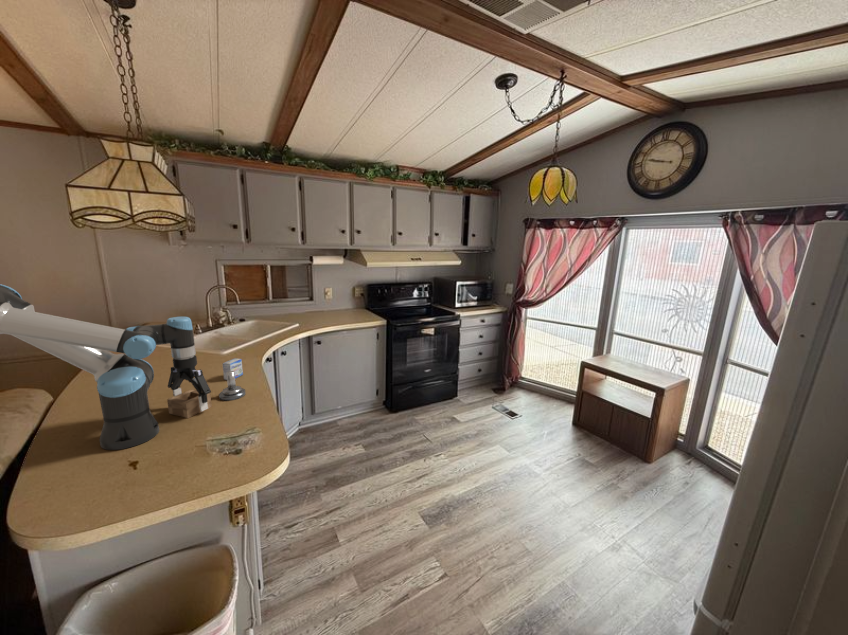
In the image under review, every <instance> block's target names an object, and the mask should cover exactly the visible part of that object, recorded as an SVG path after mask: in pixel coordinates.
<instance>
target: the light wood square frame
mask: <svg viewBox="0 0 848 635" xmlns="http://www.w3.org/2000/svg"><path fill="white" fill-rule="evenodd" d="M198 396H199V393H198V392H197V390H196V389H193V388H192V389H189V390H187V391H184V392H182V394H179V395H177V396H172V397H169V398H167V399H166V401H167V407H168V409H167V410H168V414H170V415H174V416H179V417H182V418H185V419H189V418H191V417H193V416H196V415H198V414H200V413H202V412H201V411H200V406H199V398H198ZM207 400H208V401H207V404H208V409H210V408H212V407H213V406H212V398H211V393H209V394H207Z"/></svg>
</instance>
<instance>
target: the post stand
mask: <svg viewBox="0 0 848 635" xmlns="http://www.w3.org/2000/svg"><path fill="white" fill-rule="evenodd" d="M226 373H227V380H226V382H227V387H224V388H223V389H222V390H221V391H220V392H219V394H218V397H219V398H218V399H220V400H221V401H227V402H229V401H235V400H240V399H241V398H243V397H245V395H246V389H245V388H243V387H241V386H240V385H236V379H235V373H234V371H228V372H226Z"/></svg>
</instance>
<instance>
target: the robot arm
mask: <svg viewBox="0 0 848 635" xmlns="http://www.w3.org/2000/svg"><path fill="white" fill-rule="evenodd" d="M193 328H194V327H193V322H192V319H191V318H190V317H189V316H174V317H169V318H167V319H166V323H162V324H151V325H149V324H147V325H136V326H130V327H127V328H119V327H113V326H108V325H103V324H98V323H94V322H93V323H92V322H88V321H83V320H78V319H73V318H67V317H63V316H58V315H52V314H48V313H42V312H36V311H35V306H34V305H33V304H32V303H30V302H29V301H26V300H24V299H23V298H22V295H21V294H20V293H19V292H18V291H17V290H15V289H14V288H12V287H10V286H7V285H5V284H0V335H9V336H12V337H15V338H17V339H19V340H20V341H23V342H25V343H26V344H29V345H31V346H33V347H35V348H37V349H39V350H42V351H44V352H46V353H48V354H50V355H52V356H53V357H55V358H57V359H60V360H62V361H64V362H67V363H69V364H70V365H72V366H74V367H76V368H79V369H81V370H82V371H85V372H86V373H89V374H92V375H93V377H94V381H95V382H96V383H97V385H96V389H97V393H98V397H99V403H100V407H101V412H102V417H103V418H102V420H103V426H102V429H101V432H100V436H99V443H100V447H101V449H103V450H106V451H107V450H109V451H119V450H124V449H130V448H132V447H136V446H138V445H141V444H144V443H146V442H149V441H150V440H152V439H153V438H154V437H156V436H157V435H158V434H159V433H160V426H159V422H158V421H157V419H156V418H155V416H154V414H152V412H151V409H150V402H149V394H148V391H149V389H150V386H151V385H152V383H153V381H154V377H155V375H154V374H155V372H154V368H153V366H152V364H151V363H149V362H148V361H146V360H145V358H147V357H149V356H150V355H152V353H154V351H155V350H156V347H157V346H160V345H168V344H170V352H171V357H172V364H173V365H172V367H170V374H169V379H168V383H167V388H168V389H169V388H170V390H172V397H174V396H177V395H179V394H182V393H183V392H182V387H181V386H182V384H183V381H184V380H185V381H188V383H190V384H192V386H193V388H194V390H197V392H198V393H199V396H198V398H199V406H200V411H201V412H200V413H202V412H204V411H206V410H208V409H209V408H208V404H207V401H208V400H207V394H209V393H210V394H211V393H212V390H211V388H210V386H209V384H208V382H207V380H206V378H205V376H204V372H203V369H198V370H197V369H196V366H197V364H198V360H197V359H198V358H197V355H196V354H197V353H196V346H195V345H196V344H195V337H194V329H193ZM113 352H115V353H113ZM116 353H118V354H116Z"/></svg>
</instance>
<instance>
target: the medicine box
mask: <svg viewBox="0 0 848 635" xmlns="http://www.w3.org/2000/svg"><path fill="white" fill-rule="evenodd" d="M242 362H243V361H242V358H232V359H230V360H227V361H225V362H223V363H222V371H223V372H222V374H223V380H225V381H227V373H226V372H228V371H234V373H235V380H236V379H237V378H240V377H241V376H243V375H244V371H243V363H242Z"/></svg>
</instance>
